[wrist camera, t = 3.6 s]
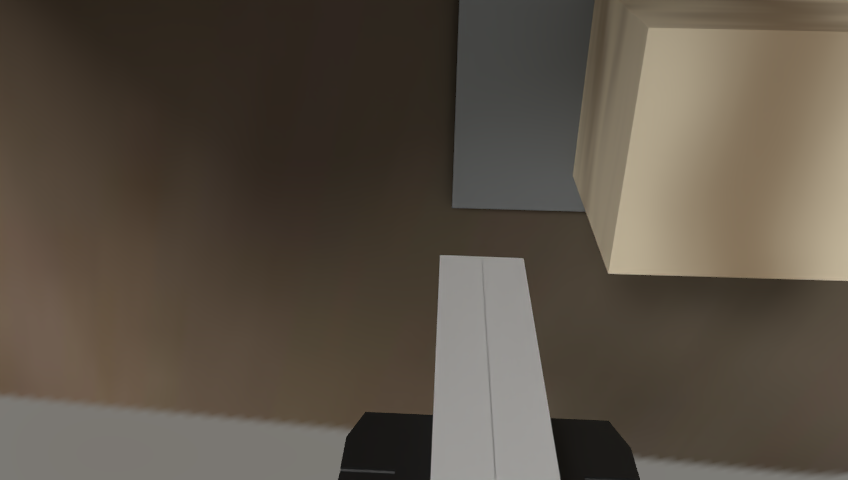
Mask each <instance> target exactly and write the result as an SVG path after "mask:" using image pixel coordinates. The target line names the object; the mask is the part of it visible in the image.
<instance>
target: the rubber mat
mask: <svg viewBox="0 0 848 480" xmlns="http://www.w3.org/2000/svg"><path fill="white" fill-rule="evenodd" d="M594 2H595V0H459V22H458V51H457V79H456V108H455V136H454V165H453V193H452V208H473V209H510V210H546V211H582V212H586V211H585V208H584V206H583V203H582V200H581V197H580V195H579V192H578V189H577V186H576V183H575V181H574V178H573V170H574V162H575V154H576V146H577V138H578V130H579V122H580V114H581V106H582V98H583V90H584V82H585V74H586V66H587V58H588V50H589V42H590V34H591V26H592V18H593V10H594Z"/></svg>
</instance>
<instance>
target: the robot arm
mask: <svg viewBox="0 0 848 480" xmlns="http://www.w3.org/2000/svg"><path fill="white" fill-rule="evenodd" d="M338 480H640V478H639V474H638V472H637V468H636V464H635V461H634V457H633V454H632V451H631V448H630V447H629V445H628V444H627V443H626V442H625V440H624V439H623V438H622V437H621V436H620V434H619V433H618V432H617V431H616V430H615V428H614V427H613V426H612V425H611V423H610V422H609V421H599V420H577V419H555V418H550V414H549V408H548V402H547V396H546V390H545V384H544V378H543V372H542V366H541V360H540V354H539V348H538V342H537V336H536V330H535V324H534V318H533V312H532V306H531V300H530V294H529V288H528V282H527V276H526V270H525V264H524V258H503V257H478V256H453V255H440V267H439V291H438V314H437V338H436V361H435V385H434V409H433V415H419V414H397V413H375V412H365V413H364V415H363V416H362V417H361V419H360V420H359V421H358V422H357V424H356V425H355V426H354V428H353V429H352V430H351V432H350V433H349V434H348V436H347V437H346V442H345V447H344V453H343V458H342V463H341V471H340V474H339V478H338Z"/></svg>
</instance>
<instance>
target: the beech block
mask: <svg viewBox="0 0 848 480" xmlns="http://www.w3.org/2000/svg"><path fill="white" fill-rule="evenodd" d="M573 178H574V181H575V183H576V186H577V189H578V192H579V195H580V197H581V200H582V203H583V206H584V208H585V211H586V214H587V217H588V219H589V222H590V225H591V228H592V230H593V233H594V236H595V239H596V241H597V244H598V247H599V250H600V253H601V255H602V258H603V261H604V264H605V266H606V269H607V272H608V274H633V275H667V276H700V277H734V278H767V279H800V280H834V281H848V0H595V2H594V10H593V18H592V26H591V34H590V42H589V50H588V58H587V66H586V74H585V82H584V90H583V98H582V106H581V114H580V122H579V130H578V138H577V146H576V154H575V162H574V170H573Z"/></svg>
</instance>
